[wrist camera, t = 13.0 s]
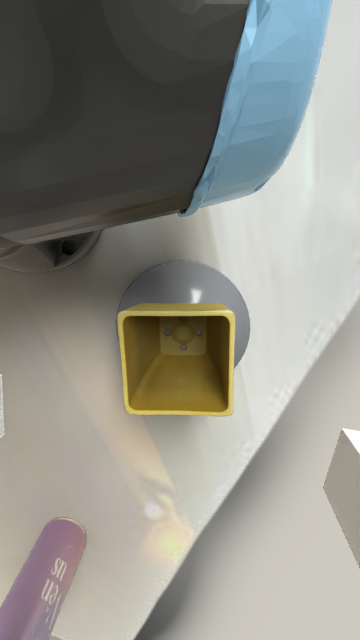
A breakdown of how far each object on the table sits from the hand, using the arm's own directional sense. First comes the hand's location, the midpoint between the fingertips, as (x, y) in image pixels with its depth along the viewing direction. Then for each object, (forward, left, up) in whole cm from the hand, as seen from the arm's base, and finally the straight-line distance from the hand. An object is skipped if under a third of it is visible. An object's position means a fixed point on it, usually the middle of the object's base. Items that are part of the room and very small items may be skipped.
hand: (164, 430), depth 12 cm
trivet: (-1, -2, -21) cm, 21 cm away
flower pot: (0, -2, -21) cm, 21 cm away
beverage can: (-14, -33, -22) cm, 42 cm away
